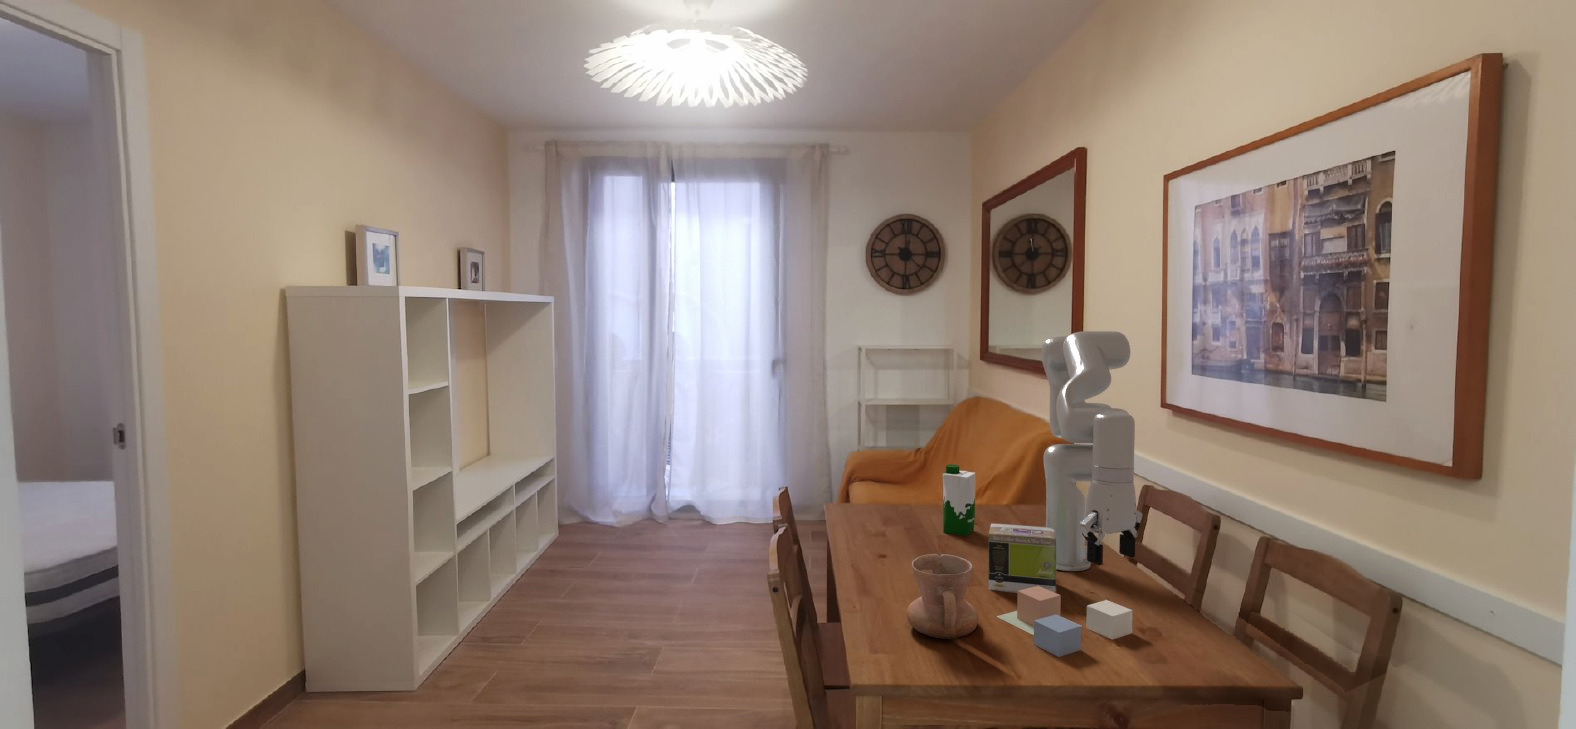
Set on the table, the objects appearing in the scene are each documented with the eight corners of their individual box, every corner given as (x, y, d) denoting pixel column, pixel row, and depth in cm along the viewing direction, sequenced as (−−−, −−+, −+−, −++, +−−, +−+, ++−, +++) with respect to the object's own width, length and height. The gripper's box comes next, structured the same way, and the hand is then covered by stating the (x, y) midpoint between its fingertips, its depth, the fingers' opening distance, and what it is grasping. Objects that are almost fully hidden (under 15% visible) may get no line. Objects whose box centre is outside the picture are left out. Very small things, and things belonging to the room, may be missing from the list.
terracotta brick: (1037, 613, 151) (1037, 585, 151) (1060, 623, 146) (1060, 595, 146) (1017, 618, 148) (1017, 590, 148) (1039, 629, 143) (1040, 600, 143)
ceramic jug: (903, 611, 155) (903, 548, 154) (970, 613, 154) (970, 549, 153) (910, 651, 137) (910, 580, 136) (986, 653, 136) (986, 582, 135)
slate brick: (1055, 643, 140) (1055, 614, 139) (1080, 656, 134) (1081, 625, 134) (1033, 650, 137) (1034, 620, 137) (1058, 663, 132) (1059, 632, 131)
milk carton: (949, 525, 220) (950, 462, 219) (978, 530, 215) (978, 465, 214) (939, 532, 213) (939, 467, 211) (968, 537, 208) (969, 470, 206)
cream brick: (1105, 628, 147) (1106, 599, 146) (1131, 639, 141) (1132, 610, 141) (1086, 634, 144) (1086, 605, 144) (1111, 645, 139) (1112, 616, 138)
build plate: (1036, 610, 155) (1036, 605, 155) (1082, 631, 145) (1082, 625, 145) (996, 621, 150) (996, 616, 150) (1040, 644, 139) (1040, 638, 139)
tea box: (1054, 587, 169) (1055, 526, 168) (1056, 602, 160) (1057, 538, 159) (989, 579, 174) (990, 520, 173) (987, 594, 165) (988, 532, 164)
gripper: (1124, 467, 148) (1122, 547, 149) (1067, 475, 140) (1065, 560, 141) (1157, 473, 141) (1155, 557, 142) (1099, 482, 133) (1098, 571, 134)
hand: (1111, 559), depth 141 cm, fingers open, 9 cm apart
